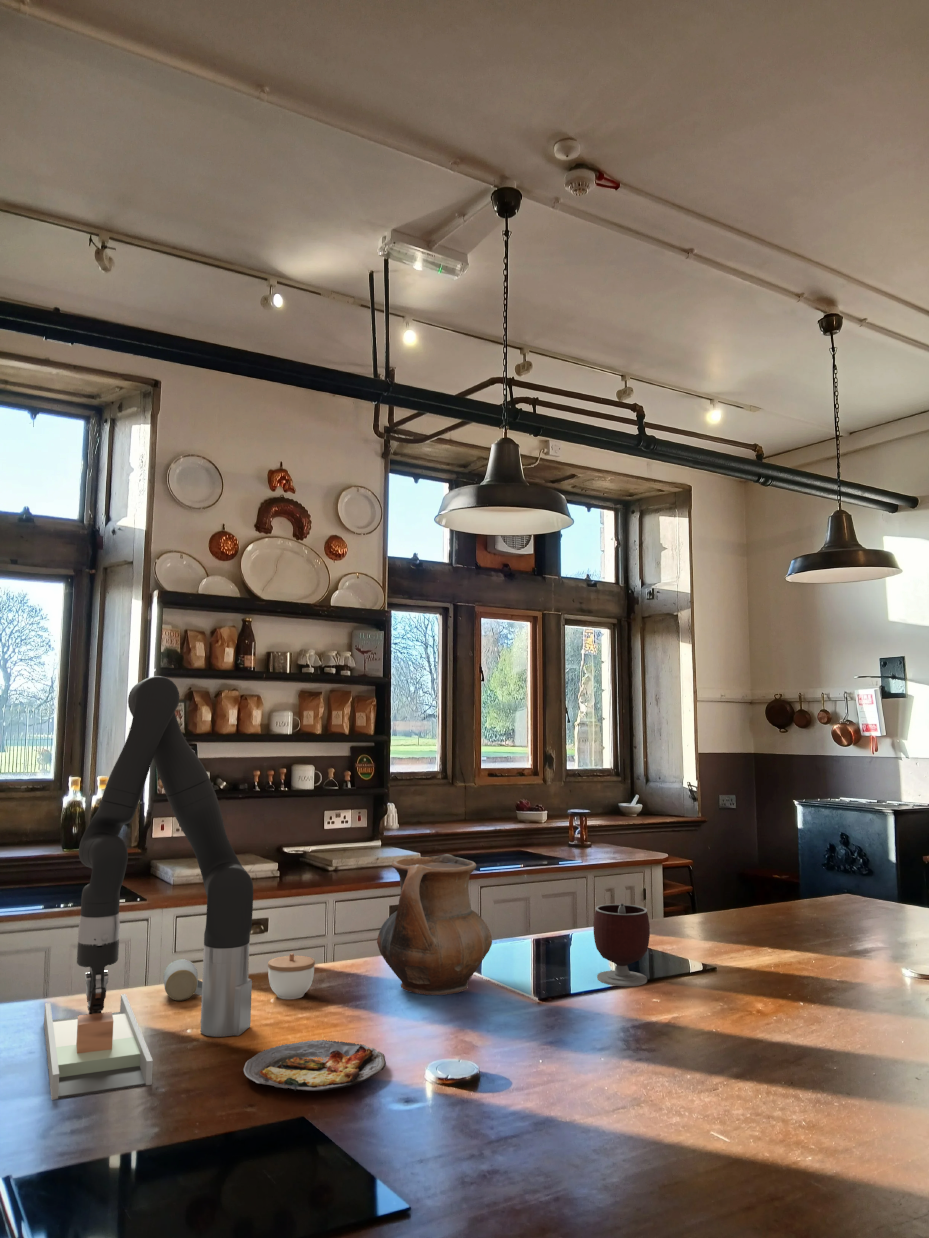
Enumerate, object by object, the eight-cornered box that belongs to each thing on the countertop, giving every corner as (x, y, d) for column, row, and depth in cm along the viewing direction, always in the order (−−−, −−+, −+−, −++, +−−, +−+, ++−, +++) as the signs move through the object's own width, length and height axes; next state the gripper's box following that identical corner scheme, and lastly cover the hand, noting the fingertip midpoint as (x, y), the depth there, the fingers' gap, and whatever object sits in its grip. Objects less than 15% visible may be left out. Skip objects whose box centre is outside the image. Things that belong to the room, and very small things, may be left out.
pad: (53, 1061, 172) (54, 1047, 172) (133, 1050, 178) (133, 1036, 178) (55, 1080, 163) (56, 1065, 163) (139, 1067, 169) (140, 1053, 169)
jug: (493, 1005, 208) (493, 869, 212) (368, 1004, 209) (371, 868, 212) (490, 968, 241) (491, 850, 244) (383, 966, 241) (385, 849, 244)
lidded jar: (291, 986, 222) (292, 946, 223) (323, 994, 216) (324, 952, 217) (257, 996, 214) (258, 954, 215) (289, 1005, 207) (291, 961, 208)
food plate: (405, 1059, 174) (404, 1039, 175) (350, 1108, 152) (350, 1086, 153) (287, 1047, 182) (287, 1028, 183) (219, 1092, 160) (219, 1071, 161)
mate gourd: (593, 970, 239) (593, 891, 241) (648, 973, 237) (647, 893, 239) (593, 987, 223) (593, 902, 226) (652, 990, 222) (651, 904, 224)
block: (76, 1043, 175) (77, 1015, 175) (110, 1038, 177) (111, 1011, 177) (76, 1053, 169) (78, 1024, 170) (112, 1049, 171) (113, 1020, 172)
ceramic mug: (163, 1003, 208) (165, 968, 209) (162, 993, 215) (164, 959, 216) (212, 1000, 211) (214, 965, 212) (209, 990, 219) (211, 956, 220)
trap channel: (43, 1022, 194) (45, 1002, 194) (124, 1013, 201) (125, 993, 201) (51, 1099, 154) (52, 1074, 155) (151, 1084, 161) (152, 1060, 162)
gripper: (76, 932, 185) (71, 1023, 183) (79, 947, 173) (74, 1044, 171) (116, 929, 188) (112, 1018, 186) (122, 943, 176) (117, 1038, 174)
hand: (94, 1030), depth 178 cm, fingers closed
